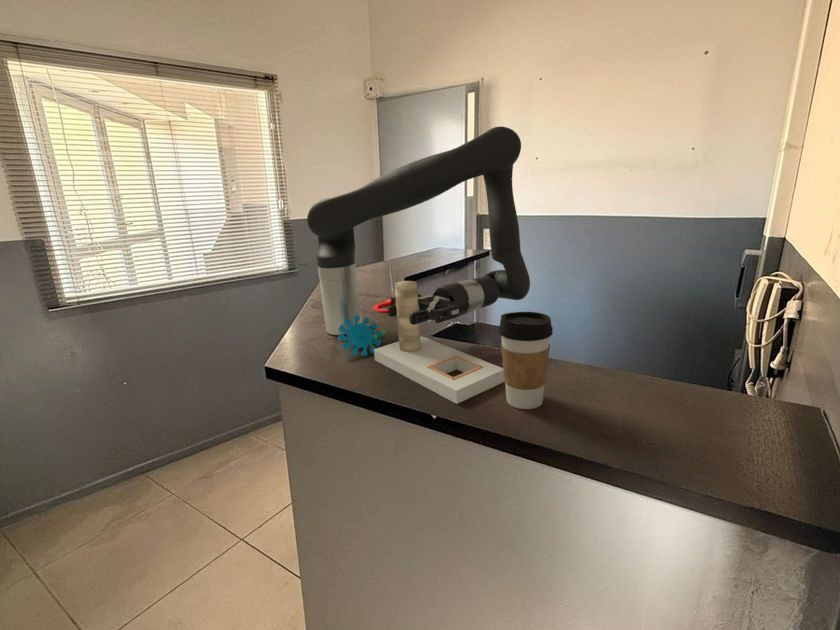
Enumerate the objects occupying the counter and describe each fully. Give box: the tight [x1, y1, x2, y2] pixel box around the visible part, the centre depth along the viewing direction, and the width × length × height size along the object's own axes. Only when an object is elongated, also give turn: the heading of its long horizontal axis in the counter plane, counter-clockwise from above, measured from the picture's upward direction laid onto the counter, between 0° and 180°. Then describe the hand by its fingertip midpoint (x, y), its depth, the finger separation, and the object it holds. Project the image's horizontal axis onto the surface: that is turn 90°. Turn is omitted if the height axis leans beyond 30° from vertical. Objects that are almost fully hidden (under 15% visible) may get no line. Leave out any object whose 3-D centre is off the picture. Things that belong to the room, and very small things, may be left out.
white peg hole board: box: [373, 335, 505, 405], centre depth 87 cm, size 26×12×3 cm, turn 38°
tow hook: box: [372, 263, 396, 314], centre depth 128 cm, size 8×13×9 cm
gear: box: [337, 316, 387, 357], centre depth 100 cm, size 11×6×10 cm
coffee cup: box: [498, 311, 554, 410], centre depth 71 cm, size 8×8×15 cm
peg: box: [395, 280, 421, 352], centre depth 90 cm, size 4×4×14 cm
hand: (399, 315), depth 89 cm, fingers open, 7 cm apart
